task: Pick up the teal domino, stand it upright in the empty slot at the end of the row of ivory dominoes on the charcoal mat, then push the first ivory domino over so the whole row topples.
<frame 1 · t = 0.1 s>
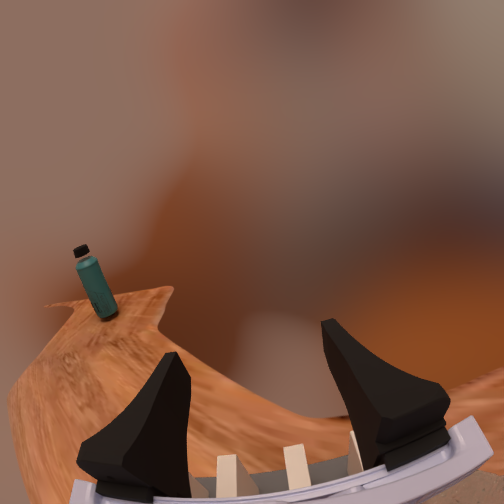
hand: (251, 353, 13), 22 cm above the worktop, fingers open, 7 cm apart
ivory domino 1: (359, 486, 19), resting on mat
beverage bottle: (110, 317, 67), on the worktop
ivory domino 2: (306, 500, 20), resting on mat
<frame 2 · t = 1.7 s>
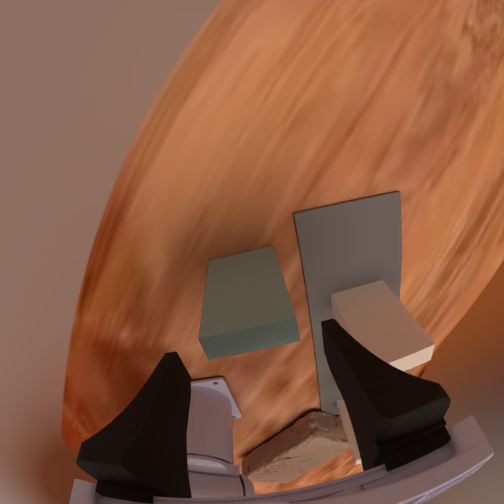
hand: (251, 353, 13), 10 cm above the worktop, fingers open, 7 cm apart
ivory domino 1: (355, 398, 31), resting on mat
mat: (356, 336, 27), on the worktop
ivory domino 4: (357, 294, 24), resting on mat
brick: (292, 439, 35), on the worktop, touching mat
teal domino: (243, 262, 22), on the worktop
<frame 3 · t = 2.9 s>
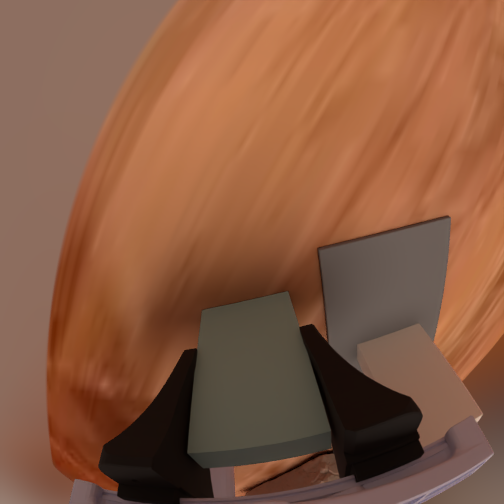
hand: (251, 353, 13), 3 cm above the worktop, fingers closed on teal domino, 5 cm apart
mat: (381, 383, 21), on the worktop
ivory domino 4: (388, 341, 18), resting on mat
brick: (299, 476, 29), on the worktop, touching mat
teal domino: (247, 312, 16), on the worktop, touching gripper
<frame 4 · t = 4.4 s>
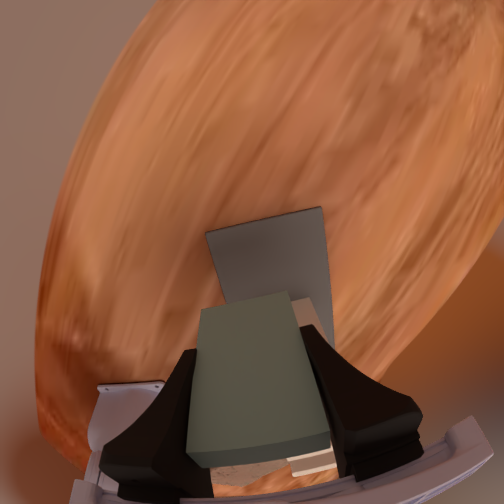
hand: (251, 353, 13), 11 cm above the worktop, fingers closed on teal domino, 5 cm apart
ivory domino 1: (301, 410, 32), resting on mat
mat: (290, 351, 27), on the worktop
ivory domino 4: (282, 311, 25), resting on mat
brick: (245, 445, 36), on the worktop, touching mat
teal domino: (246, 311, 16), point 7 cm above the worktop, touching gripper
when the fingers open (4 cm above the worktop, at t = 6.3 s): teal domino stays where it is, resting on mat.
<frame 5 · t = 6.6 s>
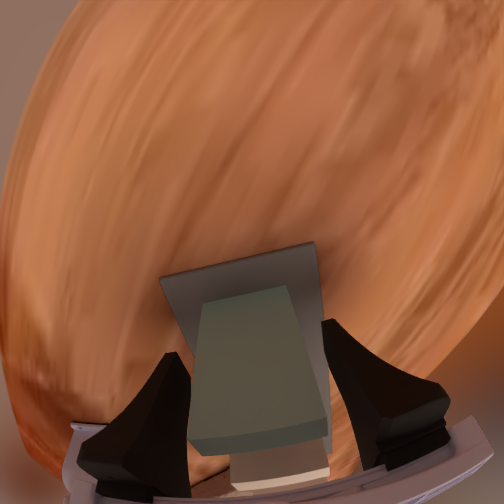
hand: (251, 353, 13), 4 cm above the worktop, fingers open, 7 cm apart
mat: (277, 403, 22), on the worktop
ivory domino 3: (277, 406, 22), resting on mat
ivory domino 4: (265, 366, 19), resting on mat
brick: (234, 480, 30), on the worktop, touching mat
teal domino: (246, 305, 17), resting on mat
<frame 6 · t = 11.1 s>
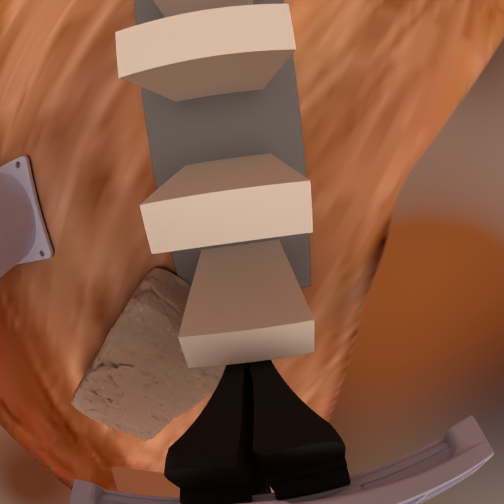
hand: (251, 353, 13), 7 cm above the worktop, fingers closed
ivory domino 1: (241, 256, 19), resting on mat, touching gripper
mat: (217, 82, 14), on the worktop
ivory domino 3: (217, 81, 14), resting on mat
ivory domino 4: (208, 4, 12), resting on mat
brick: (149, 352, 22), on the worktop, touching mat
ivory domino 2: (229, 171, 16), resting on mat
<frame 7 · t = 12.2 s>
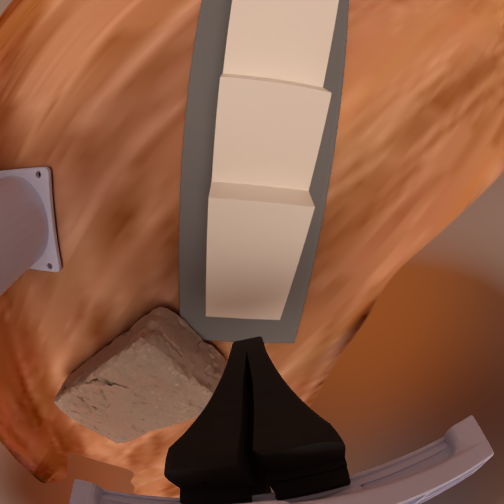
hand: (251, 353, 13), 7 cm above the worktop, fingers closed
ivory domino 1: (243, 309, 20), point 1 cm above the worktop, tilted 73°, touching ivory domino 2, mat
mat: (259, 153, 16), on the worktop
ivory domino 3: (262, 141, 15), point 1 cm above the worktop, tilted 74°, touching ivory domino 2, ivory domino 4, mat
brick: (136, 369, 23), on the worktop, touching mat
ivory domino 2: (251, 233, 17), point 1 cm above the worktop, tilted 73°, touching ivory domino 1, ivory domino 3, mat
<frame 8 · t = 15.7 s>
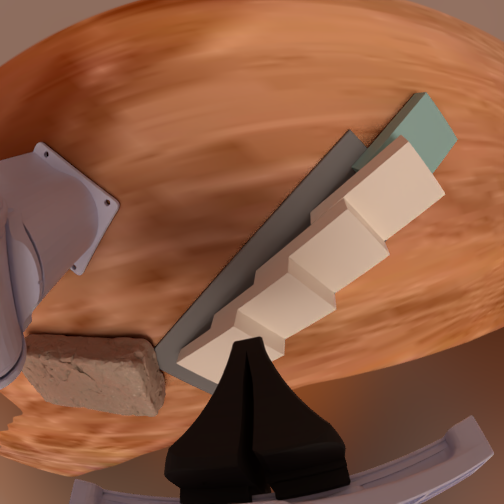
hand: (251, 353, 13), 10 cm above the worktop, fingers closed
ivory domino 1: (200, 367, 26), point 1 cm above the worktop, tilted 73°, touching ivory domino 2, mat
mat: (269, 293, 24), on the worktop
ivory domino 3: (278, 294, 23), point 1 cm above the worktop, tilted 74°, touching ivory domino 2, ivory domino 4, mat
ivory domino 4: (333, 237, 21), point 1 cm above the worktop, tilted 71°, touching ivory domino 3, mat, teal domino
brick: (93, 359, 27), on the worktop, touching mat
teal domino: (376, 191, 20), point 1 cm above the worktop, tilted 92°, touching ivory domino 4, mat
ivory domino 2: (235, 335, 25), point 1 cm above the worktop, tilted 73°, touching ivory domino 1, ivory domino 3, mat
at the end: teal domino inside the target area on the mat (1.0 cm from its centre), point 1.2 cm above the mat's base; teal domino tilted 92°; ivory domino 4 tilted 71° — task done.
